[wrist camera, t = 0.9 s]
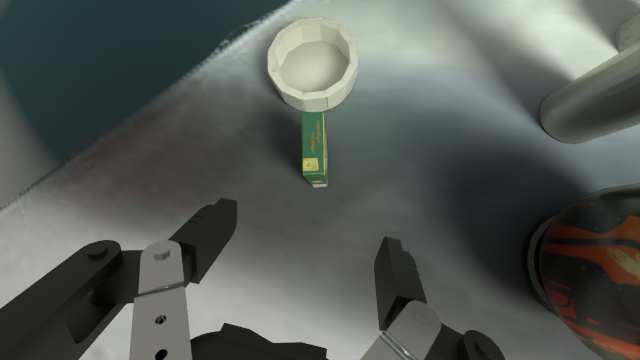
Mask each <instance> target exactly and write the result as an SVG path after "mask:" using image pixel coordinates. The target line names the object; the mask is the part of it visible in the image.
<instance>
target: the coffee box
mask: <svg viewBox="0 0 640 360" xmlns="http://www.w3.org/2000/svg"><path fill="white" fill-rule="evenodd" d="M301 128H302V173H303V176H304V177H305V178H306V179H307V180H308V182H309V183H310V184H311V185H312V187H313V188H317V187H328V143H327V137H326V130H325V123H324V115H323V112H307V113H301Z"/></svg>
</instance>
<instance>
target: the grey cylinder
mask: <svg viewBox="0 0 640 360" xmlns="http://www.w3.org/2000/svg"><path fill="white" fill-rule="evenodd" d="M639 41H640V12H639V13H638V14H636V15H635V16H633V17H632V18H630V19H629V20H627V21H625V22H624V23H623V24H622V25H620V27H619V28H618V30H617V31H616V34H615V44H616V47H617V49H618V51H619V53H620V52H622V51H624V50H625V49H627V48H629V47H630V46H632V45H634V44H635V43H637V42H639Z"/></svg>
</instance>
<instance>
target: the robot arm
mask: <svg viewBox="0 0 640 360" xmlns="http://www.w3.org/2000/svg"><path fill="white" fill-rule="evenodd" d="M539 116H540V121H541V124H542V126H543V127H544V129H545V130H546V131H547V132H548V134H549V135H551V136H552V137H554V138H555V139H557V140H559V141H562V142H565V143H572V144H576V143H582V142H585V141H589V140H592V139H595V138H598V137H601V136H604V135H607V134H611V133H614V132H617V131H620V130H623V129H626V128H629V127H632V126H635V125H638V124H640V41H639V42H637V43H635V44H634V45H632V46H630V47H629V48H627V49H625V50H624V51H622V52H620V53H619V54H617V55H615V56H614V57H612V58H610V59H609V60H607V61H605V62H604V63H602V64H600V65H599V66H597V67H596V68H594V69H592V70H591V71H589V72H587V73H586V74H584V75H582V76H581V77H579V78H577V79H576V80H574V81H572V82H570V83H569V84H567V85H565V86H564V87H562V88H560V89H559V90H557V91H555V92H554V93H552V94H550V95H549V96H548V97H547V98H545V100H544V101H543V102H542V104H541V107H540V111H539ZM236 223H237V201H235V200H231V199H226V198H221V199H220V200H219V201H218V202H217V203H216V204H215V205H210V204H209V205H207V206H205V207H203V208H201V209H200V210H199V211H197V212H196V213H195V214H194V216H192V217H191V218H190V219H189V220H188V222H186V223H185V224H184V225H183V226H182V227H181V228H180V229H179V230H178V231H177V232H176V233H175V234H174V235H173V236H172V237H171V238H170V239H169V240H165V241H159V242H156V243H153V244H151V245H149V246H148V247H146V248H145V249H144V250H127V251H121V247H120V245H119V243H117V242H115V241H111V240H103V241H97V242H94V243H91V244H88V245H86V246H84V247H83V248H81V249H80V250H78V251H77V252H76V253H74V254H73V255H72V256H70V257H69V258H68V259H66V260H65V261H64V262H62V263H61V264H60V265H58V266H57V267H56V268H54V269H53V270H52V271H50V272H49V273H48V274H46V275H45V276H44V277H42V278H41V279H40V280H38V281H37V282H35V283H34V284H33V285H31V286H30V287H29V288H27V289H26V290H25V291H23V292H22V293H21V294H19V295H18V296H17V297H15V298H14V299H13V300H11V301H10V302H9V303H7V304H6V305H5V306H3V307H2V308H1V309H0V360H78V359H79V358H80V357H81V356H82V355H83V354H84V352H85V351H86V350H87V349H88V348H89V347H90V345H91V344H92V343H93V342H94V341H95V340H96V338H97V337H98V336H99V335H100V334H101V333H102V331H103V330H104V329H105V328H106V327H107V326H108V324H109V323H110V322H111V321H112V320H113V319H114V317H115V316H116V315H117V314H118V313H119V312H120V310H121V309H122V308H123V307H124V306H125V305H126V304H127V303H134V308H133V320H132V332H131V345H130V357H129V360H329V359H327V358H326V353H327V349H326V348H322V347H318V346H314V345H310V344H306V343H302V342H296V343H272V342H270V341H269V340H267V339H265V338H263V337H262V336H260V335H258V334H257V333H255V332H253V331H252V330H250V329H247V328H243V327H239V326H235V325H231V324H227V323H224V325H223V327H222V329H221V331H217V332H210V333H206V334H203V335H200V336H197V337H195V338H193V339H191V340H190V332H189V323H188V313H187V303H186V294H185V288H186V287H187V285H188V284H189V283H190V282H192V283H196V284H199V283H200V281H201V280H202V278H203V277H204V275H205V274H206V272H207V271H208V270H209V268H210V267H211V265H212V264H213V262H214V261H215V260H216V258H217V257H218V255H219V254H220V252H221V251H222V250H223V248H224V247H225V245H226V244H227V242H228V241H229V240H230V238H231V237H232V235H233V233H234V231H235V228H236ZM374 273H375V284H376V296H377V308H378V319H379V330H382V331H386V332H385V333H384V332H383V333H382V334H381V335H380V336H379V337H378V338H377V340H376V341H375V342H374V343H373V345H372V346H371V347H370V348H369V350H368V351H367V352H366V353H365V355H364V356H363V357H362V358H361V359H360V360H505V358H504V356H503V354H502V352H501V350H500V349H499V347H498V346H497V345H496V344H495V343H494V342H493V341H492V340H491V339H490V338H489V337H487V336H486V335H484V334H483V333H481V332H478V331H475V330H469V331H467V332H466V333H465V334H464V335H462V334H460V333H458V332H456V331H455V330H453V329H451V328H449V327H447V326H446V325H444V324H442V323H441V321H440V318H439V316H438V315H437V313H436V312H435V311H434V310H433V309H432V308H431V307H430V306H429V305H427V301H426V298H425V294H424V291H423V287H422V284H421V280H420V278H419V274H418V271H417V267H416V263H415V260H414V259H413V257H412V256H411V255H410V253H409V252H406V251H403V249H402V245H401V241H400V240H398V239H394V238H390V237H384V239H383V241H382V244H381V246H380V249H379V251H378V254H377V256H376V259H375V265H374Z"/></svg>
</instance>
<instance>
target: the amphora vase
mask: <svg viewBox="0 0 640 360" xmlns="http://www.w3.org/2000/svg"><path fill="white" fill-rule="evenodd" d="M523 268H524V272H525V276H526V280H527V282H528V284H529V286H530V287H531V289H532V291H533V293H534V295H535V296H536V297H537V298H538V299H539V301H540V302H541V303H542V304H543V305H544V306H545V307H546V308H547V309H548V310H550V311H551V312H552V313H554V314H555V315H556V316H558V317H559V318H560V319H561V320H562V321H563V322H564V323H565V324H566V325H567V327H568V328H569V329H570V330H571V331H572V332H573V333H574V334H575V336H576V337H577V338H578V339H579V340H580V341H581V342H582V343H583V344H585V345H586V346H587V347H588V348H589V349H590V350H592V351H593V352H594V353H596V354H597V355H598V356H600V357H601V358H602V359H604V360H640V183H637V184H629V185H623V186H617V187H611V188H605V189H602V190H600V191H597V192H595V193H592V194H590V195H588V196H585V197H583V198H581V199H579V200H577V201H575V202H573V203H572V204H571V205H569V206H568V207H567V208H566V209H565V210H561V211H557V212H555V213H552V214H550V215H548V216H545V217H544V218H543V219H542V220H540V221H539V222H538V223H537V224H535V225H534V227H533V228H532V230H531V231H530V233H529V234H528V236H527V238H526V241H525V244H524V248H523Z"/></svg>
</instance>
